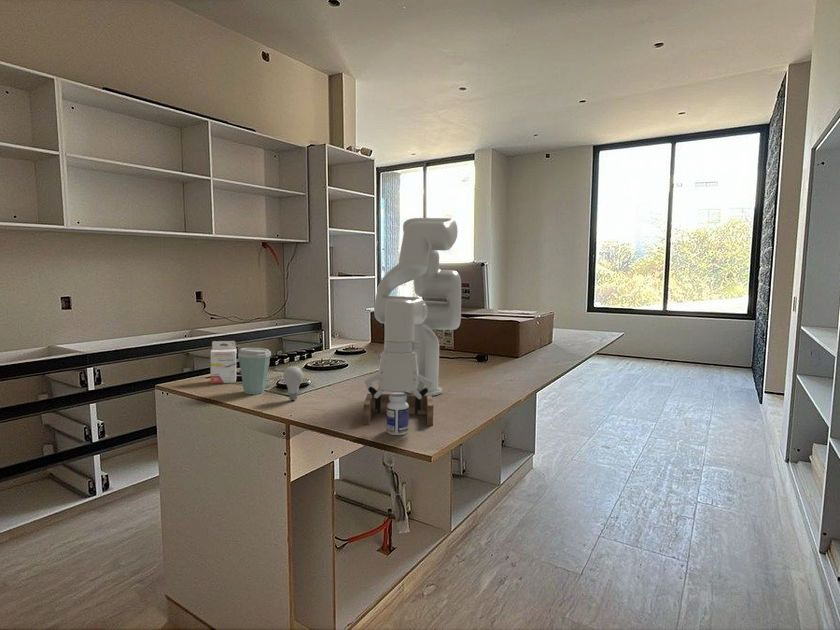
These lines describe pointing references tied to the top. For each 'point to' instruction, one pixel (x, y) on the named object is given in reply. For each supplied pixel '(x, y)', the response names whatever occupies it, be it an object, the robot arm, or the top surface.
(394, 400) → the pill bottle
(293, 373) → the lightbulb
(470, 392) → the top surface
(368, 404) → the open wooden frame
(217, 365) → the ink cartridge box
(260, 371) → the disposable coffee cup
